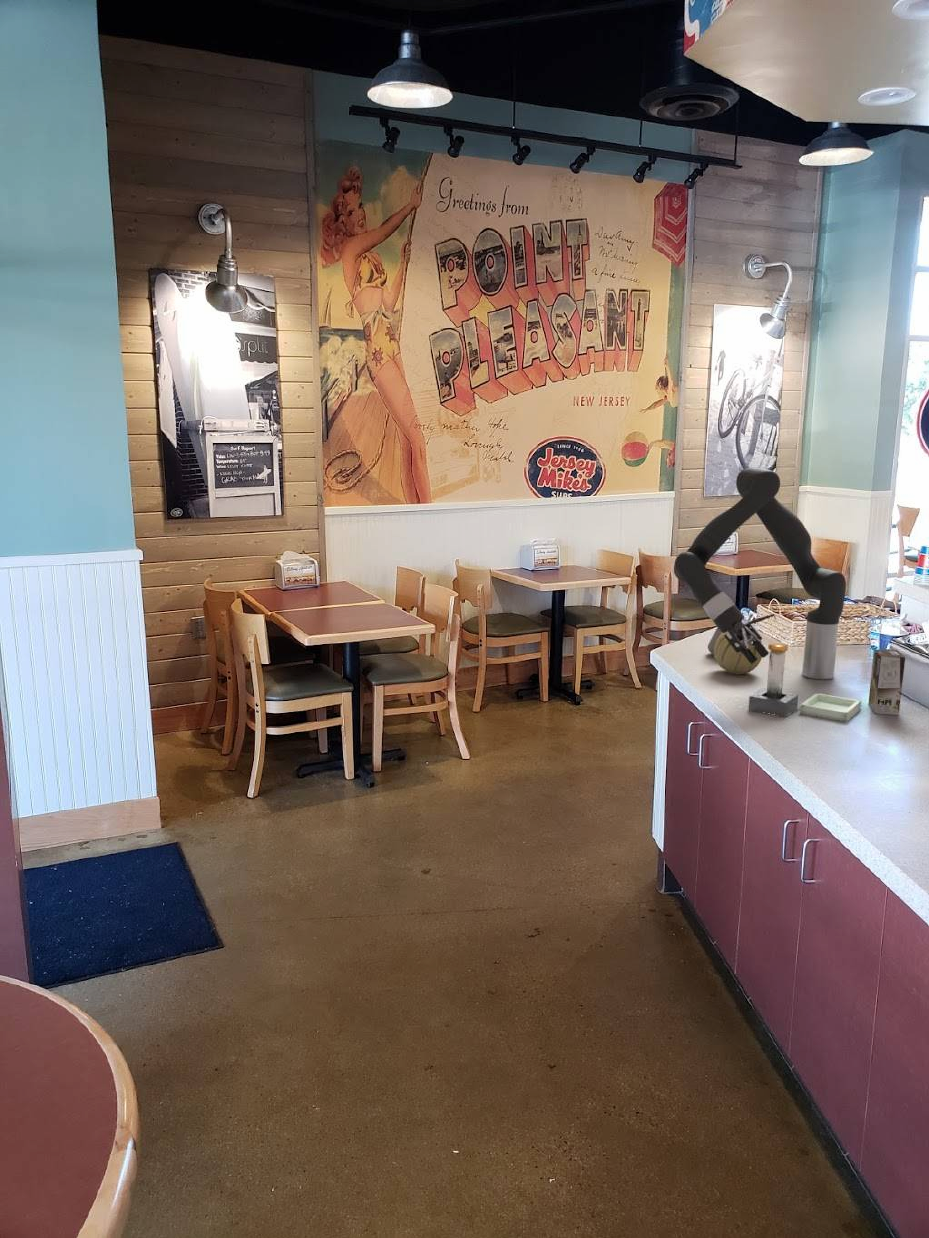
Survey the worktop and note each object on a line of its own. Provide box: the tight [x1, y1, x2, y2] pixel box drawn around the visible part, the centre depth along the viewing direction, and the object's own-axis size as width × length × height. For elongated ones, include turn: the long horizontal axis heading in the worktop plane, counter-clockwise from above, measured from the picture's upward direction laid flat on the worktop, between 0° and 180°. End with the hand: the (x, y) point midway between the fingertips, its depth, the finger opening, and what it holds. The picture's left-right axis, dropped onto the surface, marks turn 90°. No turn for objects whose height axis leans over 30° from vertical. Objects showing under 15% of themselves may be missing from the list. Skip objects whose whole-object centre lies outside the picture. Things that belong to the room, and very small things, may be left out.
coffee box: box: [868, 648, 906, 716], centre depth 259 cm, size 9×6×16 cm
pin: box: [766, 642, 789, 699], centre depth 258 cm, size 5×5×18 cm
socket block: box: [748, 687, 799, 718], centre depth 259 cm, size 10×10×4 cm
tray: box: [799, 692, 862, 723], centre depth 258 cm, size 14×12×2 cm
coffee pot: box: [707, 613, 777, 657], centre depth 315 cm, size 21×12×15 cm, turn 82°
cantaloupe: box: [713, 632, 763, 675], centre depth 294 cm, size 15×15×15 cm
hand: (760, 658), depth 259 cm, fingers open, 8 cm apart
